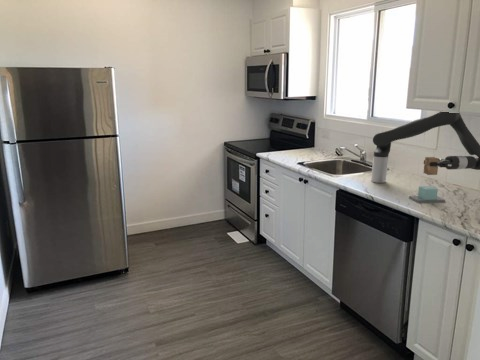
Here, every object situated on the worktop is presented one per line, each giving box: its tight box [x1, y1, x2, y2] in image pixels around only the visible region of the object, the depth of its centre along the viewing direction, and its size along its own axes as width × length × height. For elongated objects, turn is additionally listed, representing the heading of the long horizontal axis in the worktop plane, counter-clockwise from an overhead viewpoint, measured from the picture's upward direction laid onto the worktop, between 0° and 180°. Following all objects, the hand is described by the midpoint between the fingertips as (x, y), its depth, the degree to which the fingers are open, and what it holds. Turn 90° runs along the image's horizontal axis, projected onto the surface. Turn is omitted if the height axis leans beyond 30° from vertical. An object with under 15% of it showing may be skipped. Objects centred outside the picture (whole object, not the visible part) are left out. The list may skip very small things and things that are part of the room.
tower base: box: [408, 185, 446, 204], centre depth 219 cm, size 9×16×7 cm, turn 96°
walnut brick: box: [423, 156, 440, 176], centre depth 215 cm, size 5×5×9 cm
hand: (427, 163), depth 214 cm, fingers closed on walnut brick, 5 cm apart
